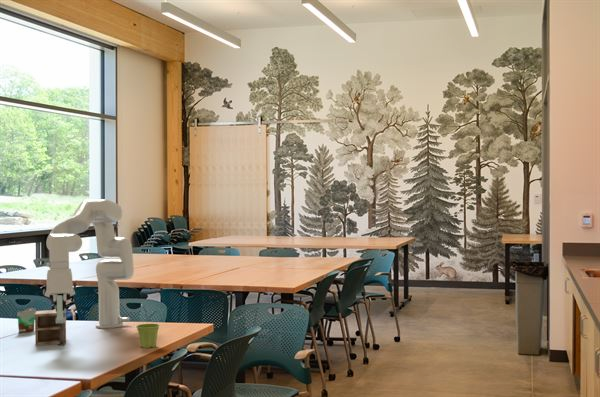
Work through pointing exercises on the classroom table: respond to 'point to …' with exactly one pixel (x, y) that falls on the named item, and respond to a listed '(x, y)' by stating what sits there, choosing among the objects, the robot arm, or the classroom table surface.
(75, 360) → the classroom table surface
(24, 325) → the food container
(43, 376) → the classroom table surface
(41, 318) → the cabinet
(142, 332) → the plant pot
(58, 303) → the door
